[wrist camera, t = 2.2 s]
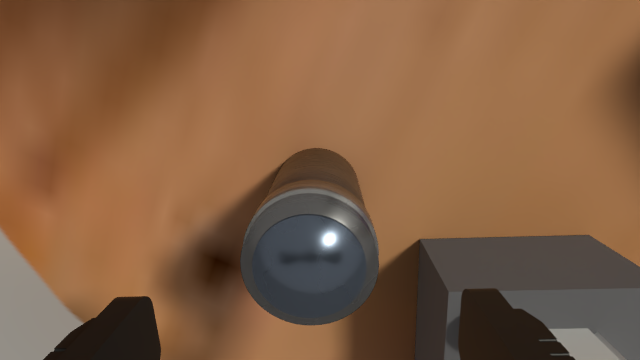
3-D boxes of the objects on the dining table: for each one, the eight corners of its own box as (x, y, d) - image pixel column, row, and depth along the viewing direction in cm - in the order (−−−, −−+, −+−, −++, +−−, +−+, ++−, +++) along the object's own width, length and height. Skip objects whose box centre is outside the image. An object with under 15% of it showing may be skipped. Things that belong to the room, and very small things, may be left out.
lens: (270, 147, 19) (228, 202, 11) (360, 144, 19) (383, 197, 11) (276, 230, 20) (243, 331, 12) (360, 228, 20) (381, 329, 12)
